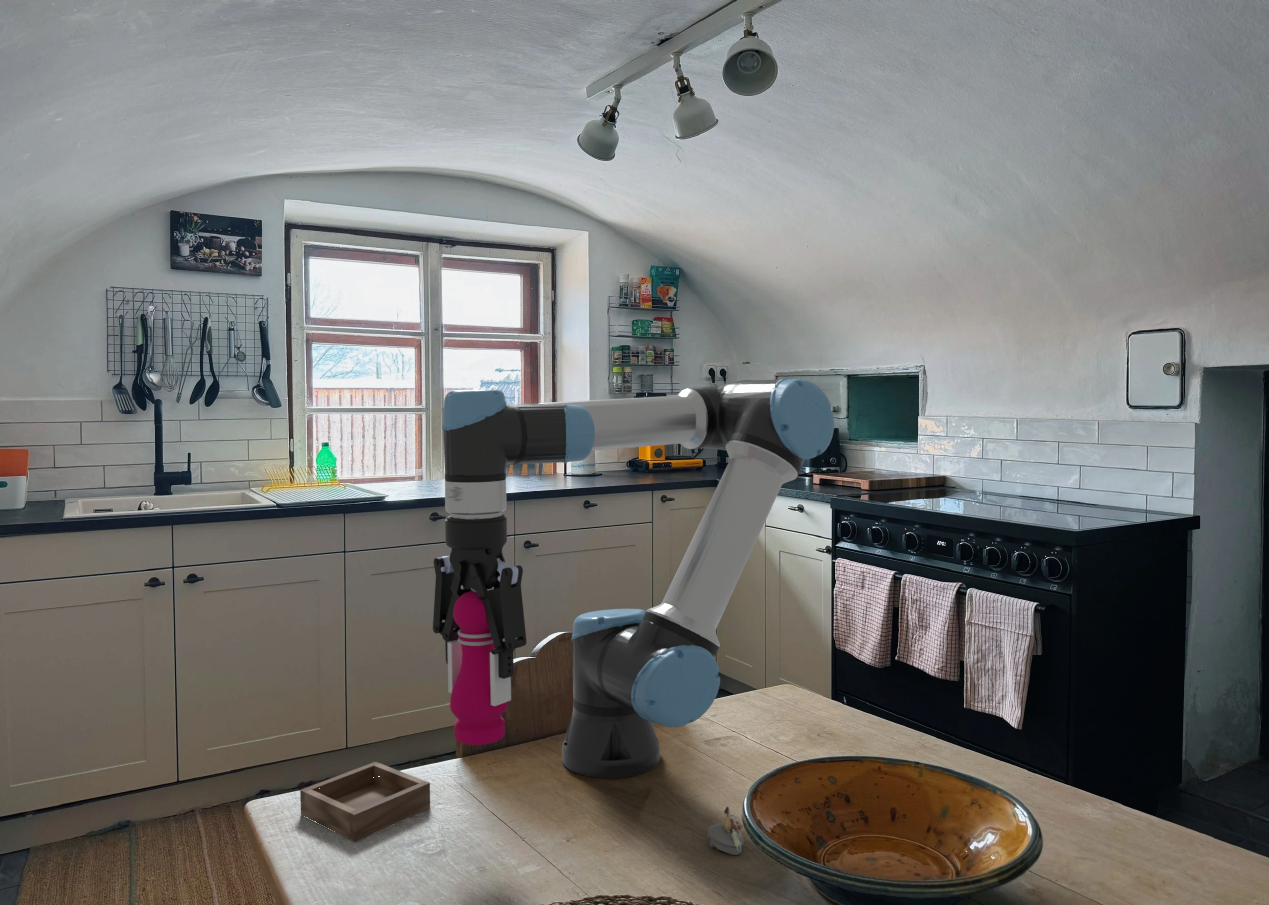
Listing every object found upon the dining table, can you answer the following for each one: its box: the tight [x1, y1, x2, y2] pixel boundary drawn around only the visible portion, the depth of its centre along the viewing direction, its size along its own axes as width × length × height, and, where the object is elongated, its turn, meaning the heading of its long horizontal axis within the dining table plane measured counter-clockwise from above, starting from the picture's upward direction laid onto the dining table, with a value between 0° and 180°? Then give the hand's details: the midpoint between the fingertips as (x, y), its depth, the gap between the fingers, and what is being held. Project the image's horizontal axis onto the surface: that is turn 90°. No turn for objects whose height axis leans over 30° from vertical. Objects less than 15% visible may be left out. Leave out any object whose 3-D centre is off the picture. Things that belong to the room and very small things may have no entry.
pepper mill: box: [449, 588, 509, 746], centre depth 113 cm, size 7×7×20 cm
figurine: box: [705, 806, 745, 856], centre depth 111 cm, size 5×4×6 cm
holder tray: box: [299, 761, 431, 843], centre depth 122 cm, size 12×12×4 cm
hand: (479, 696), depth 113 cm, fingers closed on pepper mill, 7 cm apart
